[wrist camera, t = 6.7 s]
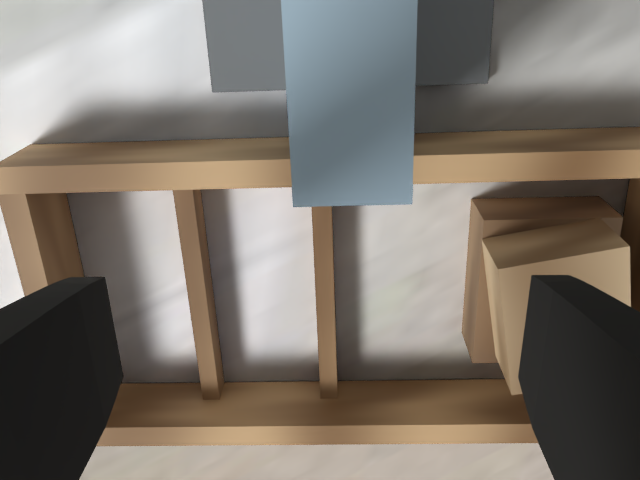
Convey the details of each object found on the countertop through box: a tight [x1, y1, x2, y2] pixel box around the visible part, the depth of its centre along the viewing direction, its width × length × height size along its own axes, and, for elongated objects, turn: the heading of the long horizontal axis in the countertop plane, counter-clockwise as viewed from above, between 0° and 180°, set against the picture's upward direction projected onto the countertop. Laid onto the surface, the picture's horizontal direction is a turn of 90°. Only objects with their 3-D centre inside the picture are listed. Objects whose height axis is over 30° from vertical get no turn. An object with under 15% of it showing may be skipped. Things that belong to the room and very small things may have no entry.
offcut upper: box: [482, 218, 631, 395], centre depth 18 cm, size 3×4×2 cm
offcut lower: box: [462, 196, 623, 363], centre depth 20 cm, size 4×5×2 cm
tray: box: [0, 127, 640, 446], centre depth 20 cm, size 20×10×2 cm, turn 92°
